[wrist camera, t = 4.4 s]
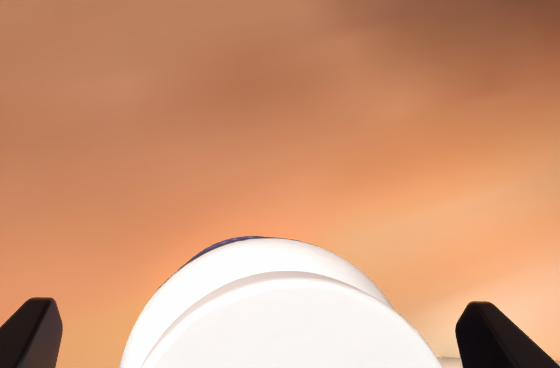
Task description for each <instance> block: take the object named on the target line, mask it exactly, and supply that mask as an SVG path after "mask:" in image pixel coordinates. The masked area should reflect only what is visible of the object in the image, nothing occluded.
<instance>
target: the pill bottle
mask: <svg viewBox="0 0 560 368" xmlns="http://www.w3.org/2000/svg"><path fill="white" fill-rule="evenodd" d="M119 368H443V367H442V365H441V363H440V362H439V360H438V358H437V357H436V355H435V354H434V352H433V350H432V349H431V348H430V346H429V345H428V343H427V342H426V341H425V340H424V339H423V337H422V336H421V335H420V334H419V333H418V332H417V331H416V330H415V329H414V328H413V327H412V326H411V325H410V324H409V323H408V321H407V320H406V319H404V318H403V317H402V316H401V315H400V314H398V313H397V312H396V311H395V310H394V309H393V307H392V306H391V304H390V302H389V301H388V300H387V298H386V297H385V295H384V294H383V293H382V292H381V291H380V289H379V288H378V287H377V286H376V284H375V283H374V282H373V281H371V280H370V279H369V278H368V277H367V276H366V275H365V274H364V273H363V272H362V271H360V270H359V269H358V268H357V267H355V266H354V265H353V264H351V263H350V262H348V261H347V260H345V259H343V258H342V257H340V256H338V255H336V254H335V253H333V252H331V251H328V250H326V249H323V248H321V247H318V246H316V245H313V244H309V243H306V242H302V241H298V240H292V239H284V238H273V237H261V236H244V237H236V238H231V239H228V240H224V241H221V242H219V243H216V244H214V245H212V246H210V247H208V248H206V249H204V250H203V251H201V252H200V253H199V254H197V255H196V256H194V257H193V258H192V259H191V260H190V261H188V262H187V263H186V264H185V265H183V266H182V267H181V268H180V269H178V270H177V271H176V272H175V273H174V274H173V275H172V276H171V277H170V278H169V279H168V280H167V281H166V282H165V283H163V284H162V285H161V287H160V288H159V289H158V290H157V292H156V293H155V294H154V295H153V297H152V298H151V299H150V300H149V302H148V303H147V304H146V306H145V308H144V309H143V311H142V312H141V314H140V316H139V318H138V319H137V321H136V323H135V325H134V327H133V329H132V331H131V334H130V336H129V338H128V341H127V344H126V347H125V350H124V352H123V355H122V359H121V363H120V367H119Z"/></svg>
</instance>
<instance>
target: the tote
mask: <svg viewBox="0 0 560 368" xmlns="http://www.w3.org/2000/svg"><path fill="white" fill-rule="evenodd" d="M437 358H438V360H439V362H440V363H441V365H442V367H443V368H463V366H462V361H461V358H441V357H437ZM555 362H556V363H557V364H558V365H559V366H560V361H555Z"/></svg>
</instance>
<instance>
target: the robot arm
mask: <svg viewBox="0 0 560 368" xmlns="http://www.w3.org/2000/svg"><path fill="white" fill-rule="evenodd" d="M62 331H63V326H62V320H61V317H60V314H59V311H58V307H57V304H56V301H55V300H54V299H53V298H41V297H34V298H31V299H29V300H27V301H26V302H25V303H24V304H23V305H22V306H21V307H20V308H19V309H18V310H17V311H16V312H15V313H14V314H13V315H12V316H11V317H10V318H9V319H8V320H7V321H6V322H5V323H4V324H3V325H2V326H1V327H0V368H55V367H56V362H57V357H58V352H59V347H60V342H61V338H62ZM455 332H456V339H457V343H458V348H459V352H460V357H461V361H462V366H463V368H560V366H559V365H558V364H557V363H556V362H555V361H554V360H553V359H552V358H551V357H550V356H549V355H548V354H546V353H545V352H544V351H543V350H542V349H541V348H540V347H539V346H538V345H537V344H536V343H535V342H533V341H532V340H531V339H530V338H529V337H528V336H527V335H526V334H525V333H524V332H523V331H522V330H521V329H519V328H518V327H517V326H516V325H515V324H514V323H513V322H512V321H511V320H510V319H509V318H508V317H507V316H505V315H504V314H503V313H502V312H501V311H500V310H499V309H498V308H497V307H496V306H495V305H493V304H492V303H490V302H483V301H473V302H470V303H469V304H468V305H467V307H466V308H465V310H464V312H463V313H462V315H461V317H460V318H459V320H458V322H457V324H456V329H455Z"/></svg>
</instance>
